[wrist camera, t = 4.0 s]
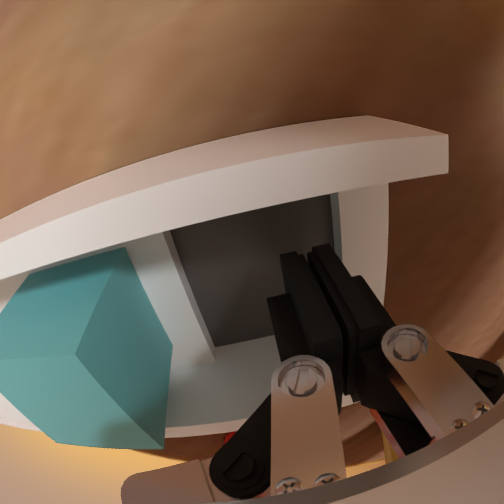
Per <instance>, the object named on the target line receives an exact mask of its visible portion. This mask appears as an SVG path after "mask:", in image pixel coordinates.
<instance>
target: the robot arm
mask: <svg viewBox="0 0 504 504" xmlns="http://www.w3.org/2000/svg"><path fill="white" fill-rule="evenodd" d="M279 257H280V263H281V269H282V274H283V280H284V286H285V292H286V294H282V295H278V296H273V297H269V298H266V300H267V304H268V309H269V313H270V318H271V322H272V327H273V331H274V335H275V339H276V344H277V348H278V352H279V356H280V361H281V364H280V365H278V366H277V367H276V369H275V371H274V372H273V374H272V380H271V393H270V394H269V395H268V397H267V398H266V399H265V400H264V401H263V402H262V404H261V405H260V406H259V407H258V408H257V409H256V410H255V412H254V413H253V414H252V415H251V416H250V417H249V418H248V419H247V421H246V422H245V423H244V424H243V425H242V426H241V427H240V428H239V429H238V430H237V432H236V433H235V434H234V435H233V436H232V437H231V438H230V439H229V440H228V441H227V442H226V443H225V444H224V445H223V446H222V447H221V448H220V449H219V451H218V452H217V453H216V454H215V455H214V457H212V458H208V459H205V460H202V461H200V460H199V459H196V460H192V461H189V462H185V463H181V464H177V465H173V466H170V467H165V468H161V469H157V470H152V471H147V472H142V473H137V474H134V475H132V476H130V477H128V478H127V479H126V480H125V481H124V483H123V485H122V487H121V499H122V504H504V358H501V359H498V360H497V361H496V363H495V364H494V363H492V362H489V361H486V360H481V359H477V358H473V357H469V356H465V355H462V354H458V353H454V352H450V351H446V350H444V348H443V347H442V346H441V345H440V344H439V343H438V342H437V341H436V340H435V339H434V338H433V337H432V336H431V335H430V334H429V333H428V332H427V331H426V330H424V329H423V328H421V327H419V326H416V325H411V324H402V325H398V326H396V325H395V323H394V322H393V320H392V319H391V317H390V316H389V314H388V313H387V311H386V310H385V308H384V307H383V305H382V304H381V302H380V301H379V300H378V298H377V297H376V295H375V294H374V292H373V291H372V289H371V288H370V287H369V285H368V284H367V282H366V281H365V279H364V278H363V277H362V276H361V275H356V276H353V277H352V276H351V275H350V273H349V272H348V270H347V269H346V267H345V266H344V264H343V263H342V261H341V260H340V258H339V257H338V256H337V254H336V253H335V251H334V250H333V248H332V247H331V245H330V244H329V243H327V244H322V245H318V246H314V247H312V251H311V252H308V253H307V259H308V262H307V260H306V258H305V256H304V255H303V254H299V255H298V254H297V252H296V251H292V252H288V253H284V254H280V255H279ZM343 393H344V395H345V396H347V395H350V396H351V398H352V401H353V403H355V402H358V401H360V402H361V405H363V406H366V407H368V408H370V412H371V414H372V416H373V417H374V419H375V421H376V422H377V424H378V425H379V427H380V429H381V430H382V432H383V433H384V435H385V437H386V438H387V440H388V441H389V443H390V445H391V446H392V448H393V449H394V451H395V453H396V454H397V456H398V457H399V459H398V460H395V461H393V462H391V463H388V464H386V465H383V466H380V467H378V468H375V469H372V470H370V471H367V472H364V473H361V474H358V475H355V476H352V477H349V478H346V469H345V460H344V452H343V445H342V437H341V430H340V423H339V414H340V413H341V407H342V394H343Z"/></svg>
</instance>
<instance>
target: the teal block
mask: <svg viewBox="0 0 504 504" xmlns="http://www.w3.org/2000/svg"><path fill="white" fill-rule="evenodd" d="M172 350H173V344H172V343H171V341H170V339H169V337H168V335H167V333H166V331H165V330H164V328H163V326H162V324H161V322H160V320H159V318H158V316H157V314H156V312H155V310H154V308H153V306H152V304H151V302H150V300H149V298H148V296H147V294H146V292H145V290H144V288H143V286H142V283H141V281H140V279H139V277H138V275H137V273H136V270H135V268H134V266H133V264H132V261H131V259H130V257H129V255H128V252H127V250H126V248H125V247H122V248H118V249H115V250H111V251H107V252H104V253H100V254H96V255H93V256H89V257H86V258H82V259H79V260H75V261H72V262H69V263H65V264H62V265H58V266H55V267H52V268H48V269H45V270H42V271H38V272H35V273H32V274H29V275H28V276H27V278H26V279H25V280H24V282H23V283H22V284H21V285H20V287H19V288H18V289H17V291H16V292H15V293H14V295H13V296H12V297H11V299H10V300H9V302H8V303H7V304H6V306H5V307H4V309H3V310H2V311H1V313H0V393H1V394H2V395H3V396H4V397H5V398H6V399H7V400H8V401H9V402H10V403H11V404H12V405H13V406H14V407H15V408H16V409H18V410H19V411H20V412H21V413H22V414H23V415H24V416H25V417H26V418H27V419H29V420H30V421H31V422H32V423H33V424H34V425H35V426H37V427H38V428H39V429H40V430H41V431H43V432H44V433H45V434H46V435H48V436H49V437H50V438H51V439H53V440H54V441H55V442H57V443H62V444H70V445H78V446H88V447H99V448H115V449H164V442H165V426H166V412H167V400H168V388H169V378H170V368H171V359H172Z"/></svg>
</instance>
